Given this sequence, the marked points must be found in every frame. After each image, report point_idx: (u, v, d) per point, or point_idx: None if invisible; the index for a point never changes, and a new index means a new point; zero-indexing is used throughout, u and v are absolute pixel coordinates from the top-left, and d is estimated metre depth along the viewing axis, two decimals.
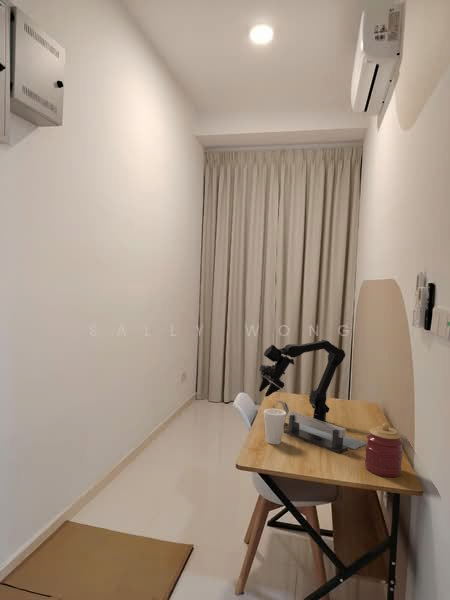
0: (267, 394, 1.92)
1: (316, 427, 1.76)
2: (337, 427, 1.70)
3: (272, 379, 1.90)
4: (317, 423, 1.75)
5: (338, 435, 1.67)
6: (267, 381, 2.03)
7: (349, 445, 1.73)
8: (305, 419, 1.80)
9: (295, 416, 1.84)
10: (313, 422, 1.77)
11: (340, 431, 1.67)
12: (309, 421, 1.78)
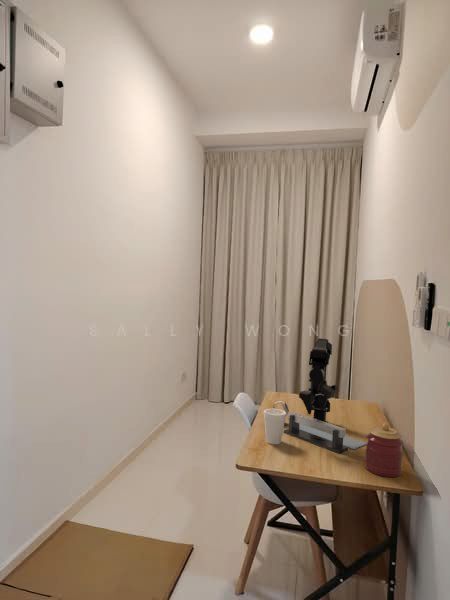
0: None
1: (316, 427, 1.76)
2: (337, 427, 1.70)
3: None
4: (317, 423, 1.75)
5: (338, 435, 1.67)
6: None
7: (349, 445, 1.73)
8: (305, 419, 1.80)
9: (295, 416, 1.84)
10: (313, 422, 1.77)
11: (340, 431, 1.67)
12: (309, 421, 1.78)
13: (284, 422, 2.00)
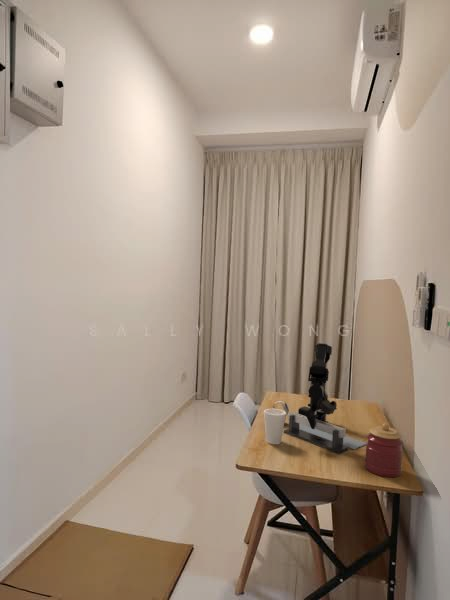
0: None
1: (316, 427, 1.76)
2: (337, 427, 1.70)
3: None
4: (317, 423, 1.75)
5: (338, 435, 1.67)
6: None
7: (349, 445, 1.73)
8: (305, 419, 1.80)
9: (295, 416, 1.84)
10: None
11: (340, 431, 1.67)
12: None
13: None
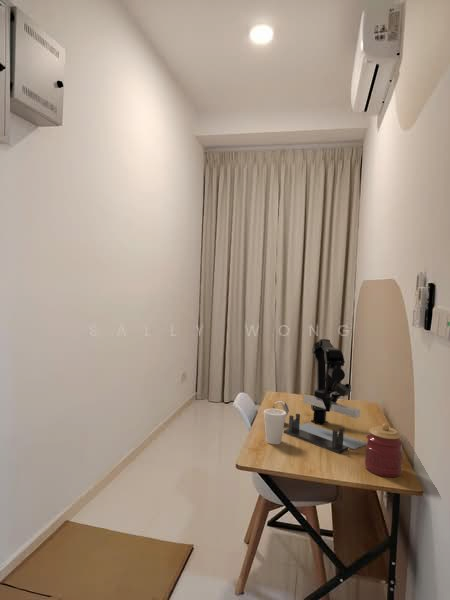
0: None
1: (331, 409, 1.83)
2: (352, 408, 1.77)
3: None
4: (332, 405, 1.82)
5: (353, 415, 1.75)
6: None
7: (349, 445, 1.73)
8: (320, 401, 1.87)
9: (310, 399, 1.91)
10: None
11: (355, 412, 1.74)
12: None
13: (284, 422, 2.00)
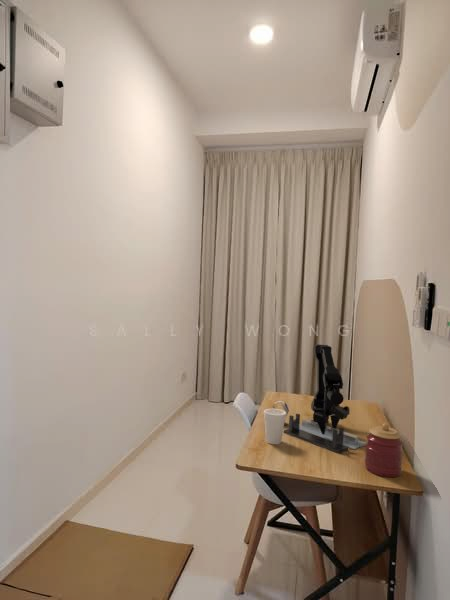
0: None
1: (330, 434, 1.83)
2: (350, 435, 1.77)
3: None
4: (331, 431, 1.83)
5: (351, 442, 1.75)
6: None
7: (349, 445, 1.73)
8: (319, 427, 1.87)
9: (309, 424, 1.92)
10: (327, 430, 1.84)
11: (353, 439, 1.74)
12: None
13: (284, 422, 2.00)
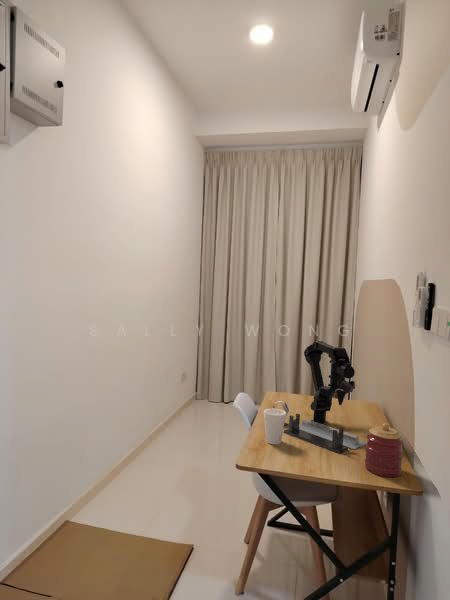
0: None
1: (330, 434, 1.83)
2: (350, 435, 1.77)
3: None
4: (331, 431, 1.83)
5: (351, 442, 1.75)
6: None
7: (349, 445, 1.73)
8: (319, 427, 1.87)
9: (309, 424, 1.92)
10: (327, 430, 1.84)
11: (353, 439, 1.74)
12: (323, 429, 1.86)
13: (284, 422, 2.00)
